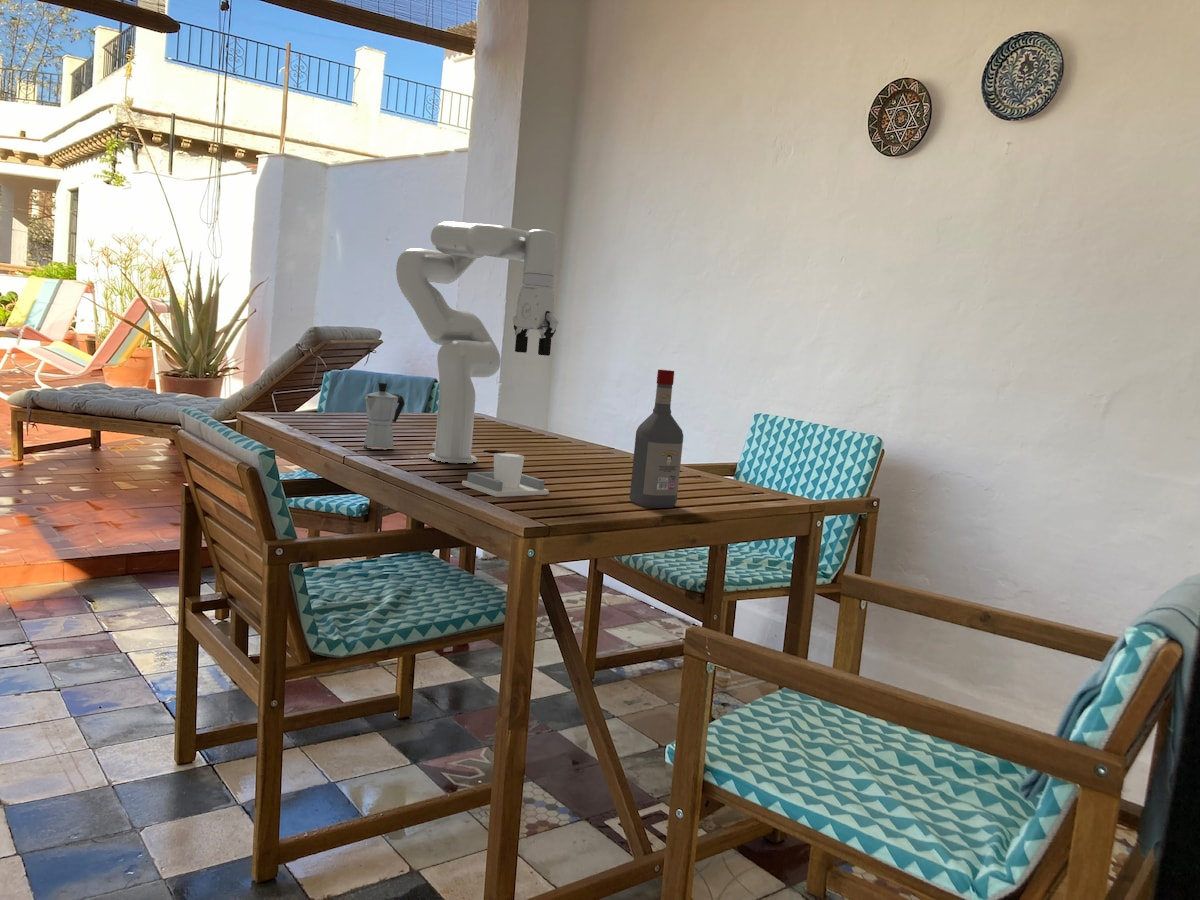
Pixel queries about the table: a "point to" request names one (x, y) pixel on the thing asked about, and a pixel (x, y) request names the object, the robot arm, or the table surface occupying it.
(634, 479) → the liquor
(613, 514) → the table surface
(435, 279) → the robot arm
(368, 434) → the coffee maker
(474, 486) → the u rest
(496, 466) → the white cup
